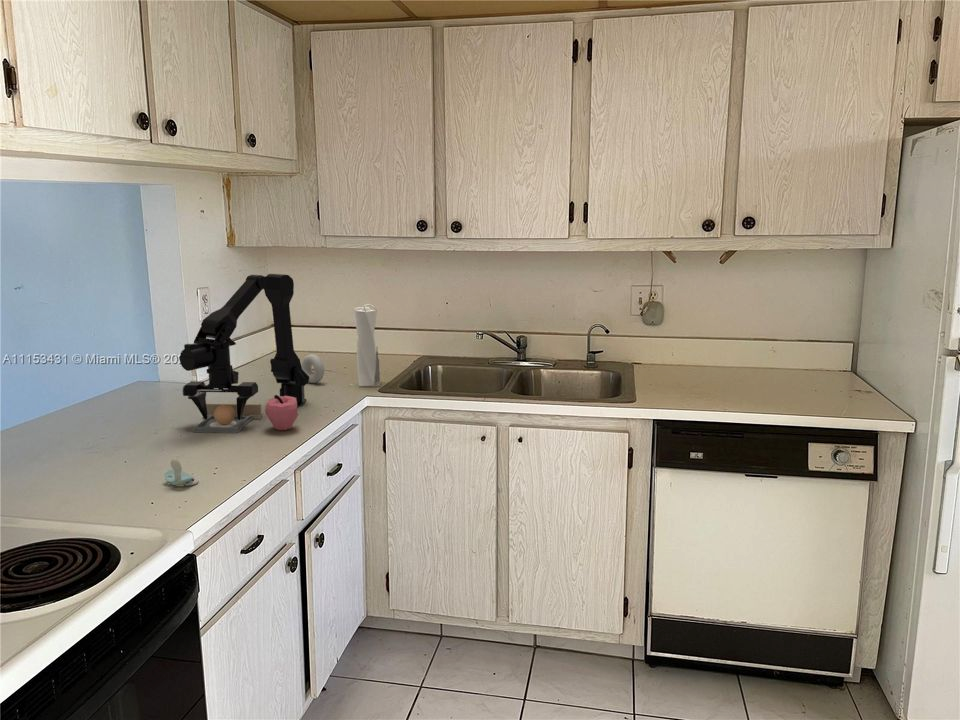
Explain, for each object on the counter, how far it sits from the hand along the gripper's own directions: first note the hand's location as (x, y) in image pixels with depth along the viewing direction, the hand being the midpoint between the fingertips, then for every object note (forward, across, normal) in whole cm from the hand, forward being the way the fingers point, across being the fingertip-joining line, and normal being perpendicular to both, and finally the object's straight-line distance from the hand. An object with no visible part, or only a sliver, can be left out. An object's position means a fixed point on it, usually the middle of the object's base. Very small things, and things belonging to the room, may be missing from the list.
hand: (222, 419), depth 197 cm
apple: (+2, -17, +2) cm, 17 cm away
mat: (+2, 0, 0) cm, 2 cm away
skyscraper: (+2, -32, -48) cm, 58 cm away
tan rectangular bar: (+2, 0, -8) cm, 8 cm away
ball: (-2, 0, 0) cm, 2 cm away
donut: (+2, -13, -50) cm, 52 cm away
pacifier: (+2, -6, +42) cm, 42 cm away
